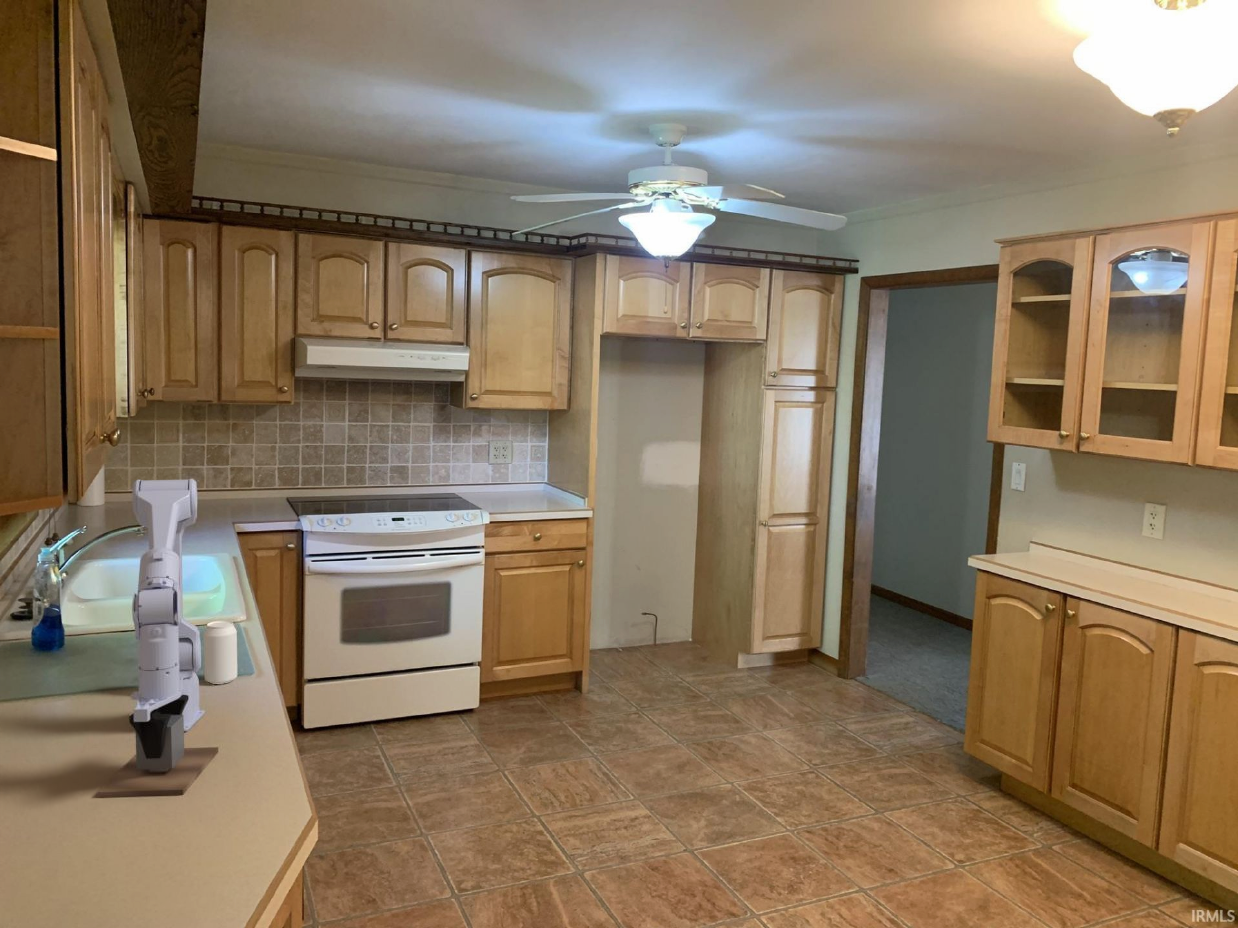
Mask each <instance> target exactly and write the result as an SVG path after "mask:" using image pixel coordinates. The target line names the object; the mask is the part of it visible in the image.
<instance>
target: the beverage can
mask: <svg viewBox="0 0 1238 928" xmlns="http://www.w3.org/2000/svg"><path fill="white" fill-rule="evenodd" d="M237 633H238V630H237V629H236V627H235V625H234V622H233V621H231V620H217V621H216V620H215V621H212V622H211V621H210V622H208V623H207V624H206V628H205V630H204V632H203V667H204V668H203V670H204V671H203V673H204V681H206V682H208V683H209V682H211V683H221V682H227V681H231V680H233V681H234V680H235V679H236V678H237V677H238V636H237V635H238V634H237Z"/></svg>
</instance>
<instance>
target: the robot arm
mask: <svg viewBox="0 0 1238 928" xmlns="http://www.w3.org/2000/svg"><path fill="white" fill-rule="evenodd" d="M197 483H198V482H197V481H196V480H195V479H194V478H189V479H150V480H145V479H142V480H141V479H137V480H136V481H134V483H133V484H132V494H131V495H132V510H133V514H134V515H135V519H136V521H137V522H138V525H139V526H142V527H144V528H147V530H148V549H149V550H147V551H146V552H145V553H143V554H142V556H141V557H140V561H139V572H138V584H137V593H136V592H135V593H134V594H133V595H132V596H133V597H132V606H131V608H132V609H131V613H132V614H131V616H132V621H133V624H134V635H135V640H137V642H136V643H137V671H138V672H137V675H138V691H137V690H136V691H133V692H132V693H131V694H130V699H131V700H133V701H134V700H136V706H135V707H134V709H133V713H132V714H131V715H129V716H128V720H129V725H131V727H132V728H133V729H134V730H135V733H136V732H137V734H138V736H139V738H140V741H141V744H142V747H143V750H144V754H145V756H146V759H154V758H161V756H162V752H163V747H164V739H165V732H166V728H167V725H168V722H169V720H170V718H171V716H172V715H183V716H184V732H188V731H189V730H190V729H191V728H192V727H193V726H194V724H196V722H198V721H199V720H200V719H201V718H202V716H203V715H205V714H206V710H205V709H200V681H199V677H198V675H197V673H198V671H199V670H200V669H201V667H202V646H201V645H202V644H201V643H202V642H201V637H200V635H201V634H200V630H199V629H198V628H199V627H198V626H196V625H195V624H193V623H191V622H189V621H188V620H186V619H185V618H184V617H183V616H184V615H183V614H184V613H183V612H184V611H183V609H184V608H183V607H184V606H183V605H184V604H183V599H184V598H183V545H182V543H183V541H182V540H183V535H184V532H185V530H186V528H187V527H189V526H191V525H195V523H196V520H197V517H198V486H197V485H198V484H197ZM196 672H197V673H196Z"/></svg>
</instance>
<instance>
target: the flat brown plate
mask: <svg viewBox="0 0 1238 928" xmlns="http://www.w3.org/2000/svg"><path fill="white" fill-rule="evenodd" d="M218 753H219V747H218V746H216V747H215V746H213V747H211V746H210V747H184V756H183V757H182V758H181V759H180V761H179V762H178V763H177V764H176V765H175V766H174V767H173V768H172V769H142V770H137V766H136V754H135V755H134V756H133V757H132V758H131V759H130V760H129V761H128V762H127V763H126V764H125V765H124V766H123V767H121V769H119V771H118V772H117V773H116V774H115V775H114V776H112V778H111V779H109V780H108V781H107V782H106V784H104V785H103V786H102V788H100V789H99V790H98V791H97V798H115V797H116V798H117V797H118V798H120V797H153V796H154V797H155V796H183V795H184V794H185V793H186V792H187V791H188V789H189V788H190V787H191V786H192V785H193V784H194V782H195V781H196V780H197V779H198V777H199V776H200V775H201V774H202V772H203V771H204V770H205V769H206V767H207V766H208V765H209V764H210V762H211V761H212V760H213V759H214V758H215V756H217V754H218Z"/></svg>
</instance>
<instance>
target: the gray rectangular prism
mask: <svg viewBox="0 0 1238 928" xmlns="http://www.w3.org/2000/svg"><path fill="white" fill-rule="evenodd" d="M184 748H185V731H184V716H183V715H172V716H171V718H170V720H169V722H168V725H167V728H166V732H165V739H164V747H163V752H162V756H161V758H154V759H146V756H145V754H144V750H143V747H142V744H141V741H140V738H139V736H138V734H137V732H136V731H135V755H136V766H137V770H142V769H172V768H173V767H174V766H175V765H176V764H177V763H178V762H179V761H180V759H181V758H182V757H183V756H184Z"/></svg>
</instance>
